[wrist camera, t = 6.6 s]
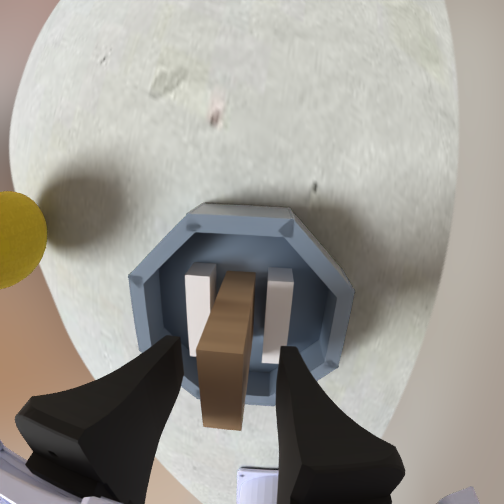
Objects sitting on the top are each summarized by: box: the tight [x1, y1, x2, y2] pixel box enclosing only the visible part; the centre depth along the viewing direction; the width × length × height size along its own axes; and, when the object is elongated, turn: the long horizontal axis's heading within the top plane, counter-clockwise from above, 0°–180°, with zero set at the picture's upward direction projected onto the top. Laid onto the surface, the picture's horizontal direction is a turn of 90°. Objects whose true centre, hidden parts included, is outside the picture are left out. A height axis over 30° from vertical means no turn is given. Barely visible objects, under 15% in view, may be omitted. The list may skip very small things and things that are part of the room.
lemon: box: [0, 191, 47, 289], centre depth 13 cm, size 6×6×8 cm
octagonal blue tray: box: [128, 203, 355, 406], centre depth 16 cm, size 11×11×3 cm
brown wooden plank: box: [196, 271, 256, 431], centre depth 13 cm, size 4×2×7 cm, turn 178°
